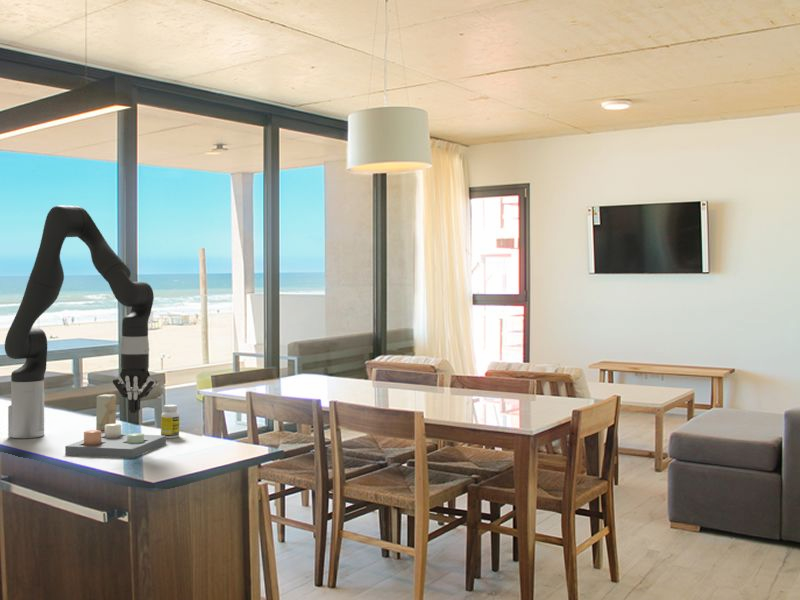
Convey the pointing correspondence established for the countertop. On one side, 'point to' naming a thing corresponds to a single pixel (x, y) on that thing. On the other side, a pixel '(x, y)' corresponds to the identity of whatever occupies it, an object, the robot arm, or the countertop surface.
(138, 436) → the sage button
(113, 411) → the box
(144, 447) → the panel
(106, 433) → the cream piece
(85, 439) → the terracotta button
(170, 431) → the supplement bottle
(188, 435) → the countertop surface
